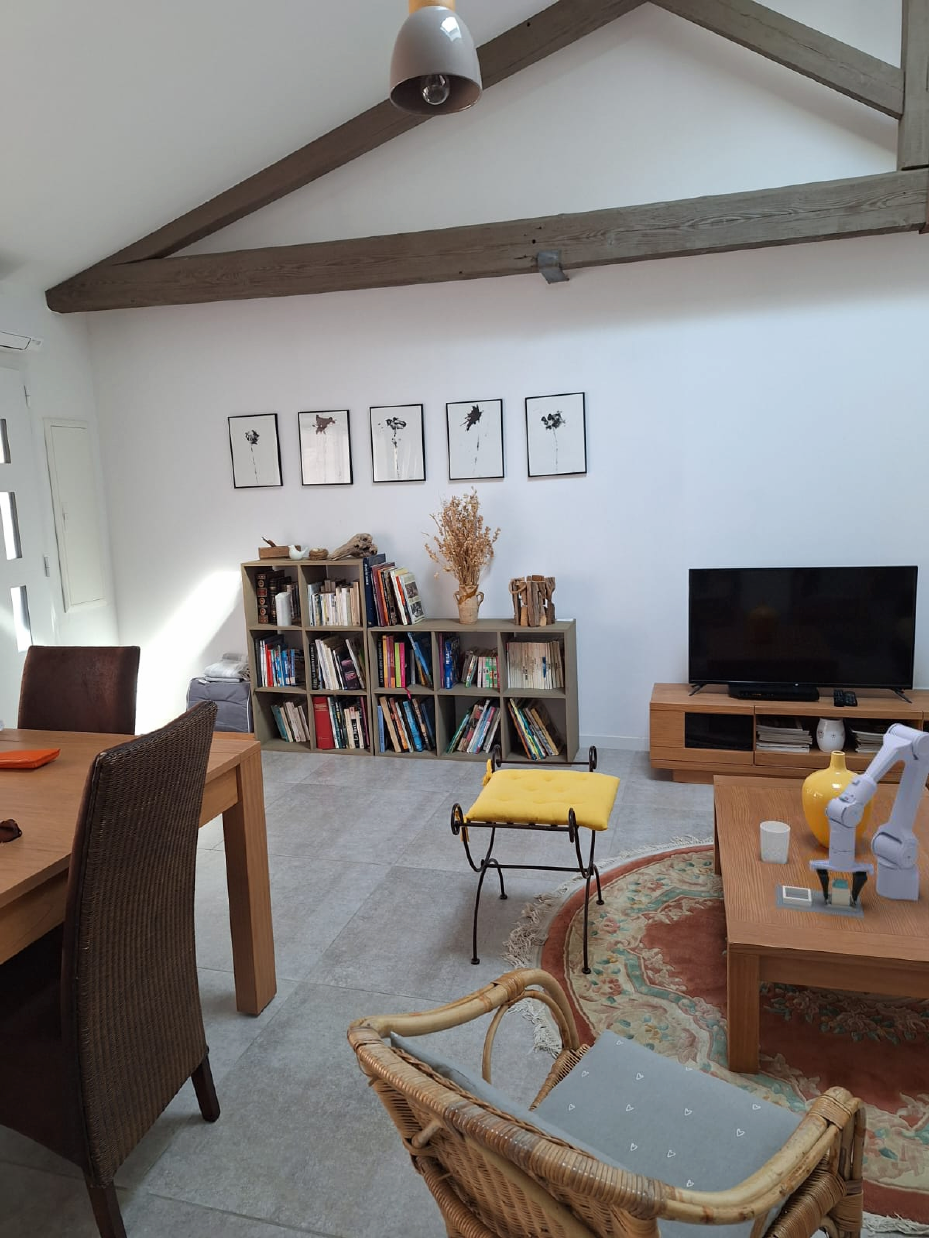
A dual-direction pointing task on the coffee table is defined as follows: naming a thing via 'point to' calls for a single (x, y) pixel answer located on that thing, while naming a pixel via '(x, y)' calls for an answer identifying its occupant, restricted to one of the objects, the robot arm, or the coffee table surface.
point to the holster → (841, 908)
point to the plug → (840, 892)
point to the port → (797, 900)
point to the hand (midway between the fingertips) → (839, 898)
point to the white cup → (774, 841)
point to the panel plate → (815, 904)
